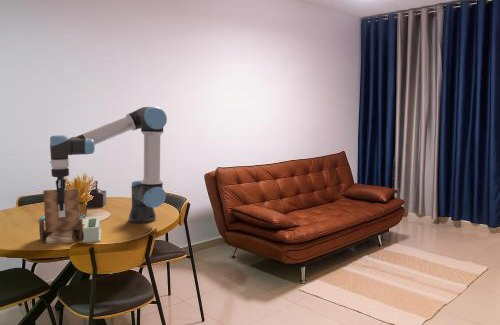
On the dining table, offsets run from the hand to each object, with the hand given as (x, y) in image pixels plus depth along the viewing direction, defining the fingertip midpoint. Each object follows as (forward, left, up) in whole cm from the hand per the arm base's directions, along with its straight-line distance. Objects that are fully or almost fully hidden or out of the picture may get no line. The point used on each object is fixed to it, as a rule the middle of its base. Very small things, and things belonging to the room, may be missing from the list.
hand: (62, 216), depth 192 cm
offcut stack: (0, +4, -11) cm, 12 cm away
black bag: (-12, -68, -11) cm, 70 cm away
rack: (0, 0, -11) cm, 11 cm away
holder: (-13, 0, -11) cm, 17 cm away
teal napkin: (+6, -41, -12) cm, 43 cm away
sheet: (0, 0, -7) cm, 7 cm away
